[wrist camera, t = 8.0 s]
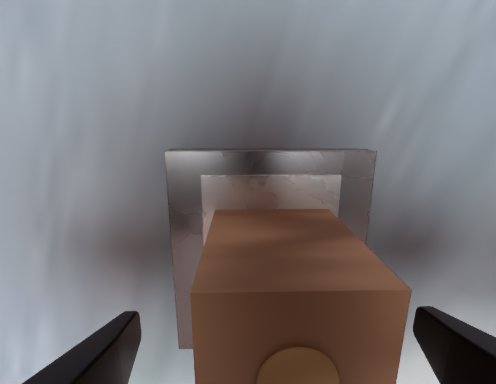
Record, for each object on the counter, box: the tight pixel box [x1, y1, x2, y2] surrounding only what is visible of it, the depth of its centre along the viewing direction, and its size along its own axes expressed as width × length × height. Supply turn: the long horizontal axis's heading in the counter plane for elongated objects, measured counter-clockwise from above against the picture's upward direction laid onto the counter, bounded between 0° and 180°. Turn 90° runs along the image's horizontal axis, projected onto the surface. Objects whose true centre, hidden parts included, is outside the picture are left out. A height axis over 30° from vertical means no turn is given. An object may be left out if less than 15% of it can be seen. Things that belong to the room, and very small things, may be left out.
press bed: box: [165, 149, 377, 349], centre depth 13 cm, size 9×10×1 cm
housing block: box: [190, 209, 411, 384], centre depth 10 cm, size 5×5×6 cm
